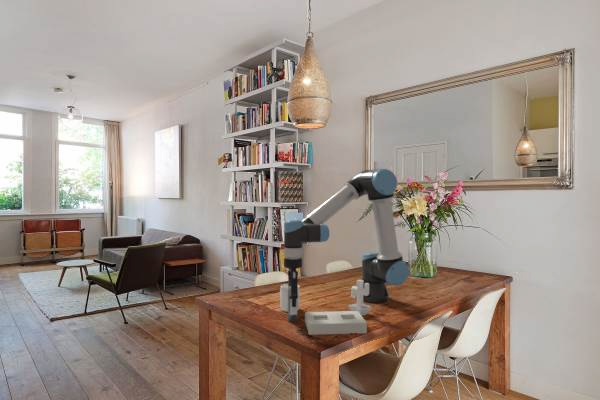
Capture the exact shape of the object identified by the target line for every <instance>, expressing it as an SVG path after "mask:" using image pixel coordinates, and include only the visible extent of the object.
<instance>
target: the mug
mask: <svg viewBox="0 0 600 400" xmlns="http://www.w3.org/2000/svg"><path fill="white" fill-rule="evenodd" d="M297 286H298V301H297V312H298V311H299V310H300V293H301V292H300V288H301V286H300V285H299V284H297ZM279 299H280V310H281V311H282V312H286V313H288V283H283V284H281V285H280V290H279Z"/></svg>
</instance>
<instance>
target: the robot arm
mask: <svg viewBox="0 0 600 400" xmlns="http://www.w3.org/2000/svg"><path fill="white" fill-rule="evenodd" d="M397 188H398V178H397V176H396V174H395V173H394V172H393V171H391V170H390V169H387V168H377V169H376V168H375V169H365V170H362V171H360V172H359V173H357V174H356V175H354V176H353V177H351V178H350V179H349V180H348V181H346V182H345V183H344V184H343V187H342V188H341V189H340V190H338V191H337V192H336V193H334V194H333V195H332V196H331V197H330V198H329V199H327V200H326V201H325V202H323V203H322V204H321V205H320V206H318V207H317V208H315V209H314V210H313V211H311V213H309V214H308V215H307V216H305V217H304V218H303V219H301V220H299V219H287V220H285V222H284V226H283V236H284V237H283V239H284V242H283V243H284V244H283V245H284V246H283V248H284V249H282V253H283V254H284V255H283V256H284V259H283V267H284V268H286V269H288V270H287V280H288V283H287V284H288V286H291V297H289V299H290V315H297V316H298V311H297V298H298V286H297V285H298V281H299V280H298V279H299V272H298V270H297V269H300V268H302V267H303V258H302V257H303V244H305V243H325V242H327V241H328V240H329V239H330V228H329V227H328V225H327V224H325V223H326V222H328V221H329V220H331V218H332V217H334V216H335V215H336V214H337V213H338V212H339V213H340V211H341V210H343V209H344V208H345V207H346V206H347V205H349V204H350V203H351V202H352V201H353V200H358V199H360V198H361V197H363V196H366V195H367V198H368V199H367V200H368V201H369V202H370V203H371V204H372V211H373V218H374V224H375V230H376V238H377V245H378V252H366V253H363V254H362V258H361V263H362V264H361V280H363V281H364V284H363V288H365V283H369V295H368V296H364V295H363V302H367V303H375V304H376V303H385V302H388V301H390V295H389V291H388V288H387V284H388V285H390V286H394V287H395V286H402V285H403V284H404V283H406V281H407V280H408V278H409V275H410V267H409V264H407V262H406V261H404V259H403V254H402V253H401V252H400V251H399V248H398V240H397V239H398V238H397V232H396V225H395V218H394V213H393V204H392V200H393V199H394V198H395V195H394V193H395V192H396V190H397Z"/></svg>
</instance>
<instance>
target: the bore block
mask: <svg viewBox="0 0 600 400" xmlns="http://www.w3.org/2000/svg"><path fill="white" fill-rule="evenodd" d="M304 323H305V326H306V329H307V332H308V335H309V336H313V335H314V336H315V335H350V333H353V334H354V333H357V334H367V333H368V323H367V321H366V319H364V317H363V316H361V315H360V313H359V312H358V311H351V310H343V311H341V310H340V311H339V310H338V311H337V310H335V311H305V312H304Z"/></svg>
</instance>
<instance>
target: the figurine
mask: <svg viewBox="0 0 600 400" xmlns="http://www.w3.org/2000/svg"><path fill="white" fill-rule="evenodd" d="M363 284H364V281H363V280H362V279H357V280H356V285H353V286H352V287H351V289H350V298H352V299H355V298H356V303H352V304H348V305H347V306H348V308H349V309H350V310H349V311H358V312H359V313H360V315H361V316H362V317H363V316H366V315H368V314H369V311H370V310H371V309H372V305H368V304H367V303H364V301H363V295H364V296H368V295H369V283H365V288H363Z"/></svg>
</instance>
